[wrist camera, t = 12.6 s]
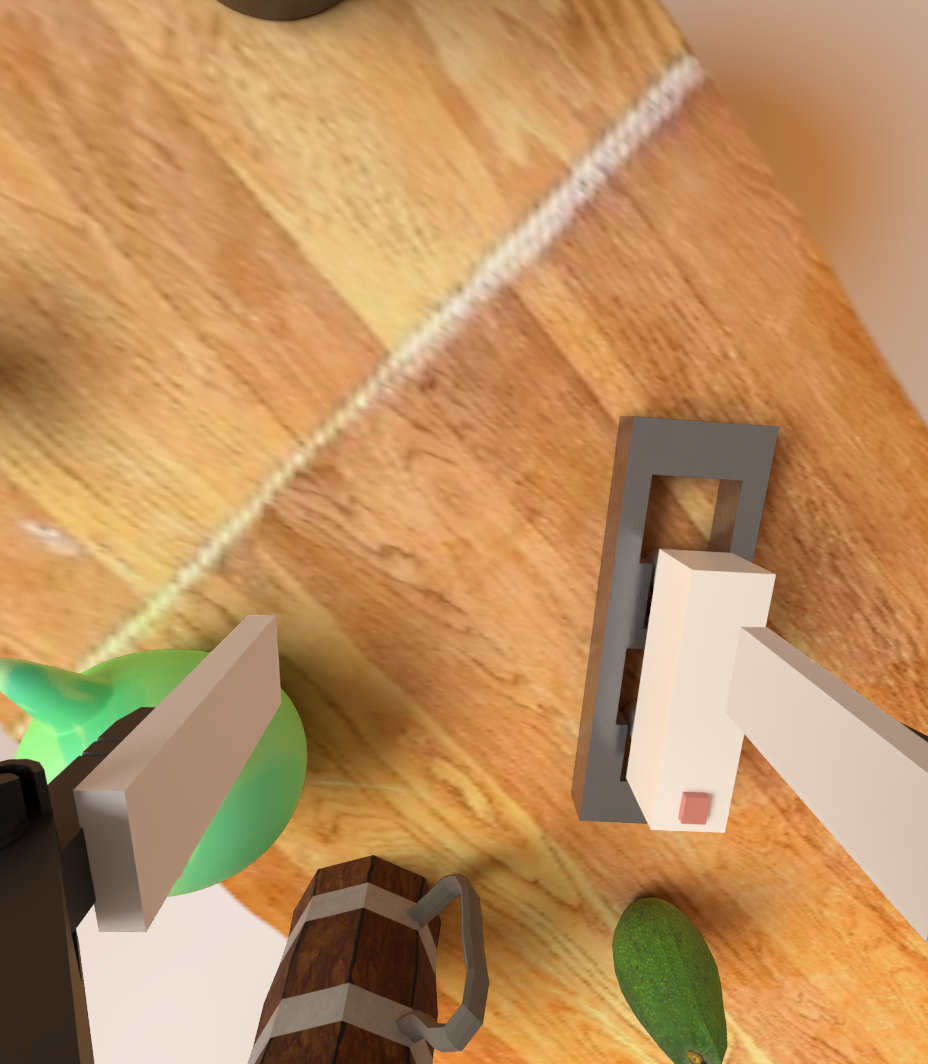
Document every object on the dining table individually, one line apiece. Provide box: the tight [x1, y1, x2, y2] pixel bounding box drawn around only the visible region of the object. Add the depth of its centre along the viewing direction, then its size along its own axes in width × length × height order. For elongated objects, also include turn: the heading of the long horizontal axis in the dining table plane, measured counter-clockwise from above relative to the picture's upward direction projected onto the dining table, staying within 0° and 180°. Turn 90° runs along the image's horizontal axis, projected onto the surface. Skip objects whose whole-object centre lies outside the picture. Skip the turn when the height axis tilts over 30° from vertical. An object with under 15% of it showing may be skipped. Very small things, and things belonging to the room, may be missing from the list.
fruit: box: [612, 897, 727, 1064], centre depth 41 cm, size 8×8×12 cm
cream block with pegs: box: [622, 546, 776, 833], centre depth 36 cm, size 18×5×10 cm, turn 177°
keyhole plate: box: [571, 417, 779, 824], centre depth 39 cm, size 32×10×3 cm, turn 176°
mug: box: [248, 855, 489, 1064], centre depth 39 cm, size 20×14×15 cm
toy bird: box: [0, 649, 307, 897], centre depth 35 cm, size 18×17×15 cm
